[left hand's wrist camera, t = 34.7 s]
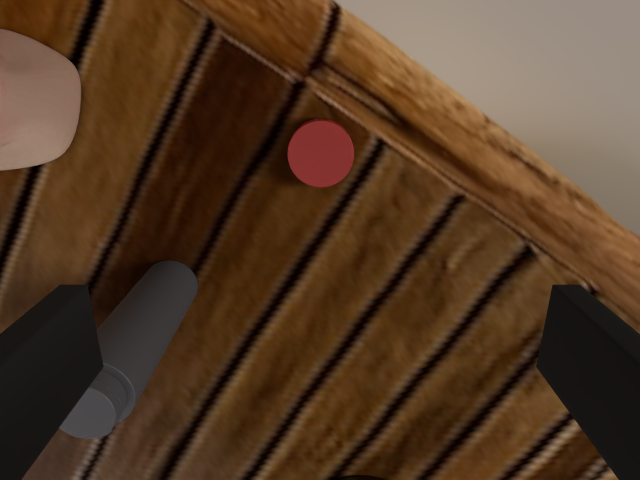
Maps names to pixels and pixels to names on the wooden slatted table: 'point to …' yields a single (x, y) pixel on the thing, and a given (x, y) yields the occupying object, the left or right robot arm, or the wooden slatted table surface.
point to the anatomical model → (35, 102)
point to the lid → (320, 152)
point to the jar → (133, 347)
